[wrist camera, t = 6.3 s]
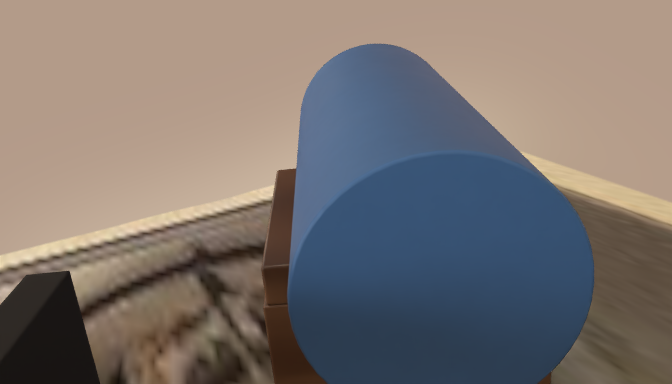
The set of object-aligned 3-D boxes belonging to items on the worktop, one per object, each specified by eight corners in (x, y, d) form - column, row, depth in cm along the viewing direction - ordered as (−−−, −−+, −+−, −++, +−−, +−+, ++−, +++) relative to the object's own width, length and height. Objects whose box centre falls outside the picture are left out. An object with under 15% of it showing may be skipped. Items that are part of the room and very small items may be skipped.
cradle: (549, 425, 19) (557, 238, 17) (284, 450, 19) (256, 267, 17) (482, 291, 26) (481, 150, 24) (292, 309, 26) (274, 169, 24)
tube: (587, 408, 12) (606, 135, 10) (304, 435, 12) (268, 167, 10) (451, 182, 24) (447, 36, 22) (308, 195, 24) (292, 51, 22)
